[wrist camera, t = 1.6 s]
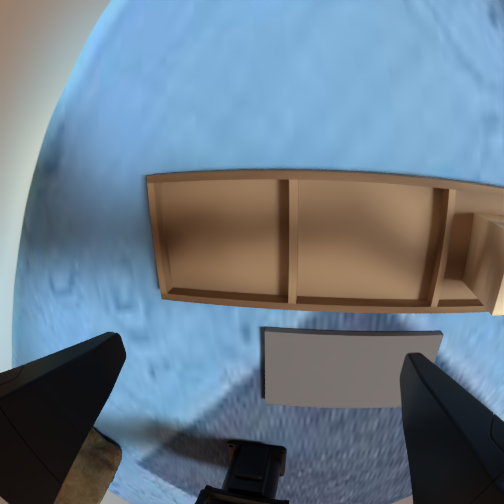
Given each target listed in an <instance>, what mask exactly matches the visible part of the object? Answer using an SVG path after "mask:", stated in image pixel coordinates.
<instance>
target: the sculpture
mask: <svg viewBox="0 0 504 504" xmlns="http://www.w3.org/2000/svg"><path fill="white" fill-rule="evenodd" d="M121 460H122V451H121V448H119V447H118V446H117V445H115V444H112V443H111V442H109V441H107V440H106V439H105V438H104V437H103V436H102V435H101V434H99V433H98V432H97V431H96V430H95V429H93V428H92V429H91V430H90V432H89V434H88V436H87V438H86V440H85V442H84V444H83V446H82V447H81V449H80V451H79V453H78V455H77V457H76V459H75V461H74V463H73V465H72V467H71V469H70V471H69V473H68V475H67V477H66V479H65V481H64V483H63V484H62V487H61V489H60V492H59V494H58V496H57V498H56V500H55V502H54V504H100V502H101V501H102V499H103V497H104V495H105V493H106V491H107V489H108V488H109V485H110V483H111V482H112V481H113V479H114V478H115V477H114V476H115V474H116V471H117V470H118V467H119V465H120V462H121Z"/></svg>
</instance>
